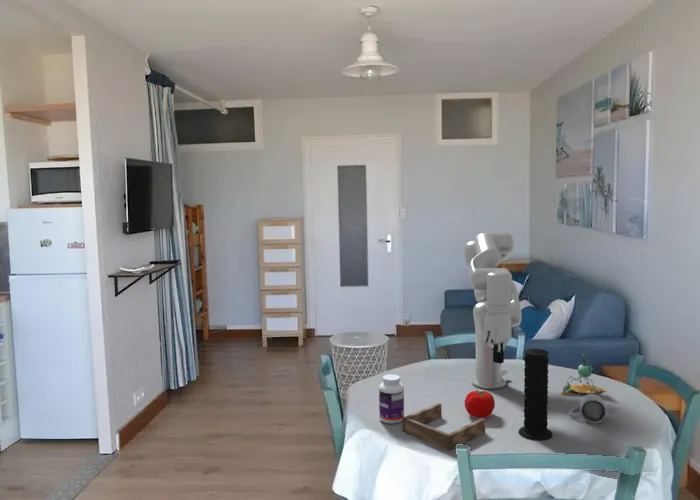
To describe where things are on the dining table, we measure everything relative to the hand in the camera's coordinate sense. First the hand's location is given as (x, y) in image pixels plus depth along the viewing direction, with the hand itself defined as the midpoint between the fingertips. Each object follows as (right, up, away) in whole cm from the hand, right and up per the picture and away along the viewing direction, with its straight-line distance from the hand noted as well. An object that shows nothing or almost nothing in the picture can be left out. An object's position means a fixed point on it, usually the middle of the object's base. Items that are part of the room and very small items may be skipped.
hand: (498, 362), depth 194 cm
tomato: (-7, -17, -4) cm, 19 cm away
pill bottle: (-36, -18, -6) cm, 41 cm away
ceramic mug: (+27, -17, -9) cm, 33 cm away
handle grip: (+6, -18, -19) cm, 27 cm away
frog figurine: (+34, -14, +15) cm, 40 cm away
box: (-21, -18, -16) cm, 32 cm away
